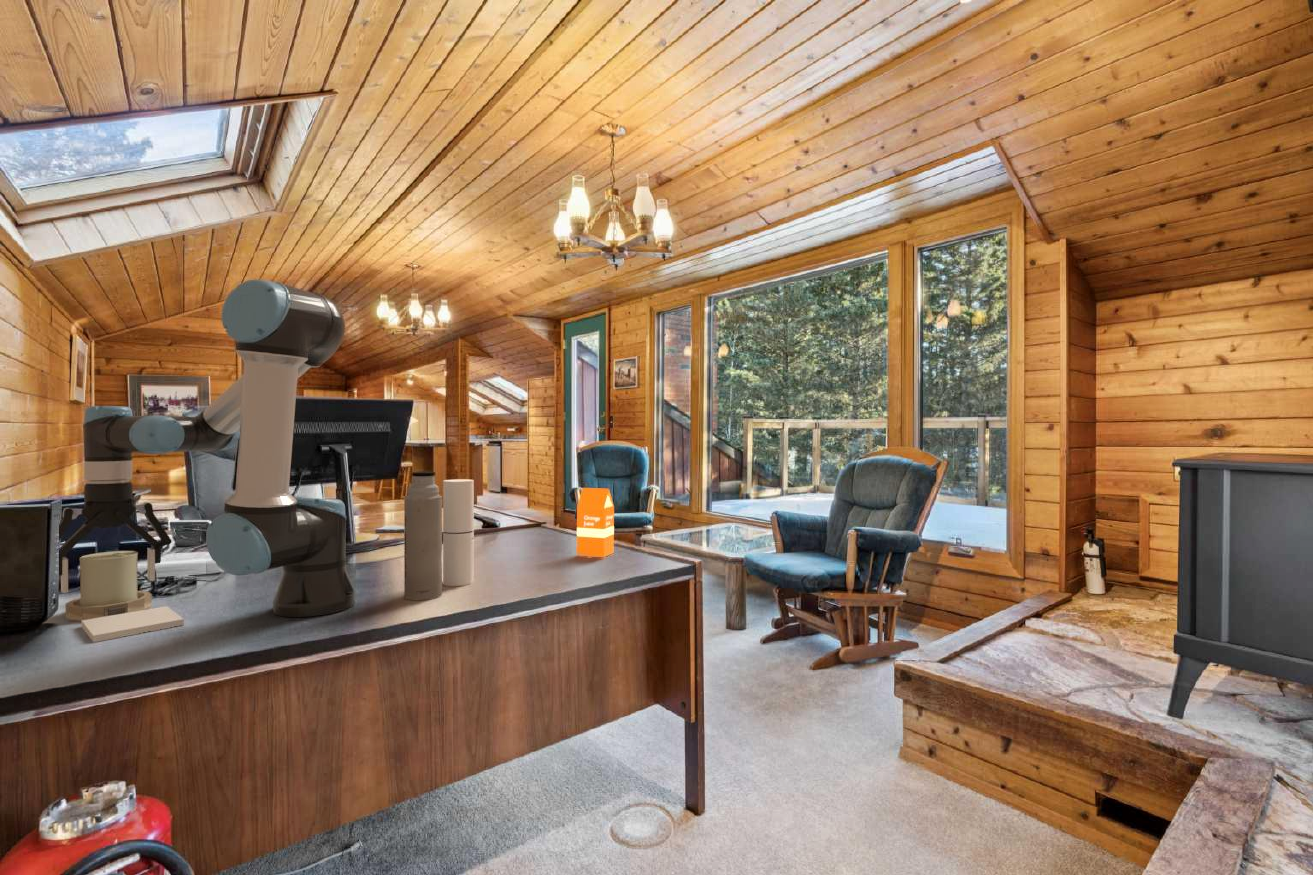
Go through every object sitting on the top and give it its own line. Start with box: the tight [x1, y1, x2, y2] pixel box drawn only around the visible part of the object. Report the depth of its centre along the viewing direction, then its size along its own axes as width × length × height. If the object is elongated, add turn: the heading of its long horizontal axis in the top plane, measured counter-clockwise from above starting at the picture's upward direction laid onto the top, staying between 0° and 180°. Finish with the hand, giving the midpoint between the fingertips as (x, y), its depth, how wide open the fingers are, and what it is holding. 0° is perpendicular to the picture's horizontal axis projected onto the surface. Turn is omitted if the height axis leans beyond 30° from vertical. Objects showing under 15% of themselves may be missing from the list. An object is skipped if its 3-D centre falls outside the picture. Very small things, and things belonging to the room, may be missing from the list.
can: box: [79, 550, 139, 607], centre depth 131 cm, size 9×9×12 cm
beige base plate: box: [80, 606, 185, 643], centre depth 121 cm, size 13×13×1 cm
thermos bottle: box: [403, 470, 443, 601], centre depth 144 cm, size 8×8×28 cm
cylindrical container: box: [442, 478, 475, 587], centre depth 156 cm, size 7×7×25 cm
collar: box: [64, 590, 152, 622], centre depth 131 cm, size 16×13×2 cm
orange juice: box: [576, 487, 615, 557], centre depth 191 cm, size 8×9×20 cm
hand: (109, 585), depth 131 cm, fingers open, 13 cm apart
